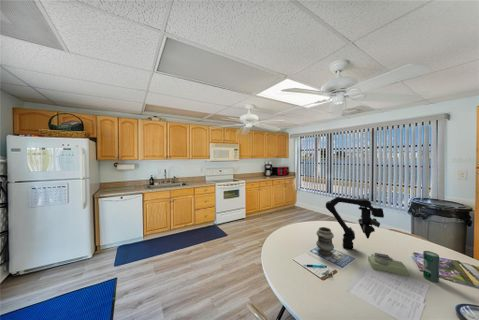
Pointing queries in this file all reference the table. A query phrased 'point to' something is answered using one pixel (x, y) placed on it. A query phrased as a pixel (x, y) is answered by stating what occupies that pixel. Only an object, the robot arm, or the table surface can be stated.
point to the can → (431, 266)
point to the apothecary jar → (325, 241)
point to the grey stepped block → (381, 255)
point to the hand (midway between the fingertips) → (365, 235)
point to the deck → (387, 265)
